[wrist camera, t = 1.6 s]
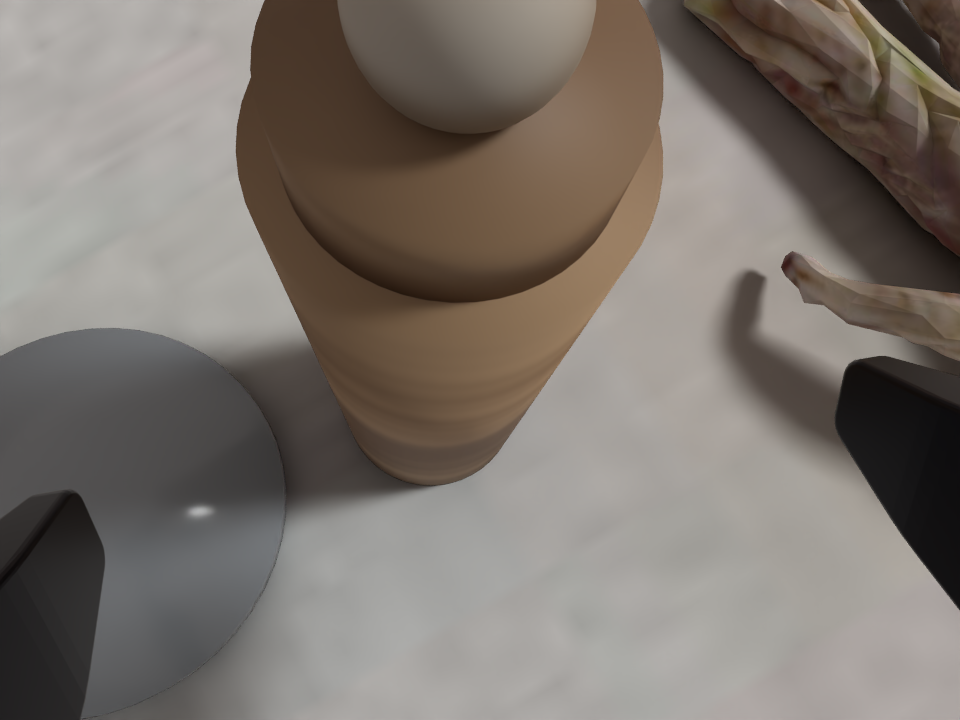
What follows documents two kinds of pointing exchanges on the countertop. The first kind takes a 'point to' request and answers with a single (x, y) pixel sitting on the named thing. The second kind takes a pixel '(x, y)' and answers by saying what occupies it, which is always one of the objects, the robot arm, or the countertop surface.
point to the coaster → (148, 493)
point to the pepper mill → (448, 200)
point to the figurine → (867, 133)
